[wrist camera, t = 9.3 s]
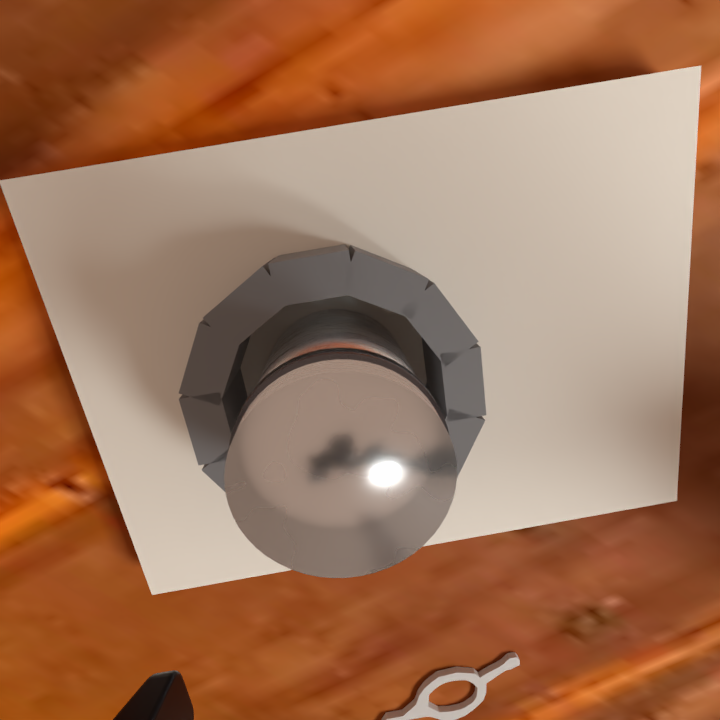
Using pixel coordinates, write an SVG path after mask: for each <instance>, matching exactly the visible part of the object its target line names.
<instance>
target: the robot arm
mask: <svg viewBox="0 0 720 720" xmlns="http://www.w3.org/2000/svg"><path fill="white" fill-rule="evenodd" d="M113 720H194V712H193V706H192V703H191V700H190V697H189V694H188V692H187V689H186V686H185V683H184V680H183V678H182V675H181V674H180V673H179V672H178V671H175V670H174V671H168V672H162V673H156V674H154V675H152V676H150V677H149V678H148V679H147V680H146V681H145V682H144V684H143V685H142V686H141V687H140V688H139V690H138V691H137V692H136V693H135V694H134V695H133V697H132V698H131V699H130V700H129V701H128V702H127V704H126V705H125V706H124V707H123V708H122V709H121V711H120V712H119V713H118V714H117V715H116V717H115V718H114V719H113Z"/></svg>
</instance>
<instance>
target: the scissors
mask: <svg viewBox="0 0 720 720" xmlns="http://www.w3.org/2000/svg"><path fill="white" fill-rule="evenodd" d="M519 665H520V660H519V658H518V655H517V654H516V653H515V652H511V653H507V654H506V655H505V656H504V657H503V658H501V659H500V660H499V661H497V662H495V663H493V664H491V665H489V666H487V667H485V668H484V669H482V670H481V671H479V672H477V671H476V670H475V669H474V668H467V667H452V668H448V669H443V670H439V671H436V672H435V673H434V674H432V675H431V676H430V677H429V678H427V679H426V680H425V681H424V682H423V683H422V684H421V686H420V687H419V689H418V691H417V694H416V696H415V699H414V700H412V701H411V702H410V703H409V704H408V705H407V706H406V707H404V708H403V709H402V710H397V711H392V712H386V713H385V714H384V716H383V718H382V719H381V720H410V719H415V718H421V717H427V716H428V717H433V718H437V719H440V720H455V719H458V718H461V717H463V716H465V715H467V714H468V713H469V712H471V711H472V710H474V709H475V708H476V707H477V706H478V705H479V704H480V703H481V702H482V701H483V699H484V697H485V695H486V683H488V682H489V681H491V680H492V679H493V678H495V677H496V676H498V675H499V674H501V673H502V672H504V671H506V670H510V669H512V668H514V667H516V666H519ZM456 680H468V681H469V682H471V683H473V684H474V685H475V691H474V693H473V695H472V696H471V697H469V698H468V699H467V700H465V701H463V702H461V703H459V704H454V705H450V706H437V705H435V704H433V703H431V702H429V694H430V693H431V692H432V691H433V690H434V689H435V688H437V687H438V686H440V685H441V684H444V683H446V682H450V681H456Z"/></svg>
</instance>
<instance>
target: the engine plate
mask: <svg viewBox="0 0 720 720" xmlns="http://www.w3.org/2000/svg"><path fill="white" fill-rule="evenodd" d="M700 78H701V66H695V67H689V68H683V69H677V70H671V71H665V72H659V73H653V74H647V75H641V76H634V77H628V78H622V79H616V80H610V81H604V82H598V83H592V84H586V85H580V86H573V87H567V88H561V89H555V90H549V91H543V92H537V93H531V94H525V95H519V96H512V97H506V98H500V99H494V100H488V101H482V102H476V103H470V104H464V105H458V106H451V107H445V108H439V109H433V110H427V111H421V112H415V113H409V114H403V115H397V116H390V117H384V118H378V119H372V120H366V121H360V122H354V123H348V124H342V125H336V126H329V127H323V128H317V129H311V130H305V131H299V132H293V133H287V134H281V135H275V136H268V137H262V138H256V139H250V140H244V141H238V142H232V143H226V144H220V145H214V146H207V147H201V148H195V149H189V150H183V151H177V152H171V153H165V154H159V155H153V156H147V157H140V158H134V159H128V160H122V161H116V162H110V163H104V164H98V165H92V166H86V167H79V168H73V169H67V170H61V171H55V172H49V173H43V174H37V175H31V176H25V177H18V178H12V179H6V180H0V185H1V188H2V191H3V193H4V196H5V199H6V201H7V204H8V207H9V209H10V212H11V215H12V218H13V220H14V223H15V226H16V228H17V231H18V234H19V237H20V239H21V242H22V245H23V247H24V250H25V253H26V255H27V258H28V261H29V264H30V266H31V269H32V272H33V274H34V277H35V280H36V282H37V285H38V288H39V291H40V293H41V296H42V299H43V301H44V304H45V307H46V310H47V312H48V315H49V318H50V320H51V323H52V326H53V328H54V331H55V334H56V337H57V339H58V342H59V345H60V347H61V350H62V353H63V355H64V358H65V361H66V364H67V366H68V369H69V372H70V374H71V377H72V380H73V383H74V385H75V388H76V391H77V393H78V396H79V399H80V401H81V404H82V407H83V410H84V412H85V415H86V418H87V420H88V423H89V426H90V428H91V431H92V434H93V437H94V439H95V442H96V445H97V447H98V450H99V453H100V456H101V458H102V461H103V464H104V466H105V469H106V472H107V474H108V477H109V480H110V483H111V485H112V488H113V491H114V493H115V496H116V499H117V501H118V504H119V507H120V510H121V512H122V515H123V518H124V520H125V523H126V526H127V528H128V531H129V534H130V537H131V539H132V542H133V545H134V547H135V550H136V553H137V556H138V558H139V561H140V564H141V566H142V569H143V572H144V574H145V577H146V580H147V583H148V585H149V588H150V591H151V593H152V595H154V594H160V593H166V592H171V591H177V590H182V589H188V588H193V587H199V586H205V585H210V584H216V583H221V582H227V581H232V580H238V579H244V578H249V577H255V576H260V575H266V574H272V573H277V572H283V571H288V570H291V569H289V568H287V567H285V566H283V565H280V564H278V563H277V562H275V561H273V560H272V559H270V558H269V557H267V556H266V555H264V554H263V553H262V552H261V551H259V550H258V549H257V548H256V547H255V546H254V545H253V544H252V543H251V542H250V541H249V540H248V539H247V538H246V537H245V535H244V534H243V532H242V531H241V530H240V528H239V527H238V525H237V523H236V521H235V520H234V518H233V516H232V513H231V511H230V508H229V505H228V502H227V497H226V492H225V482H224V473H225V462H226V458H227V454H228V450H229V442H230V438H231V434H232V430H233V427H234V424H235V422H236V420H237V417H238V415H239V413H240V411H241V408H242V406H243V404H244V403H245V401H246V399H247V398H248V396H249V394H250V393H251V392H252V390H253V389H254V388H255V387H256V385H257V383H258V381H259V379H260V376H261V374H262V372H263V370H264V367H265V365H266V363H267V361H268V358H269V356H270V354H271V351H272V349H273V347H274V345H275V343H276V342H277V340H278V338H279V337H280V336H281V335H282V333H283V332H284V331H285V330H286V329H287V328H288V327H289V326H290V325H292V324H293V323H294V322H296V321H297V320H299V319H300V318H302V317H304V316H306V315H308V314H311V313H314V312H317V311H321V310H326V309H347V310H353V311H357V312H360V313H363V314H365V315H368V316H370V317H372V318H373V319H375V320H377V321H378V322H379V323H381V324H382V325H383V326H384V327H386V329H387V330H388V331H389V332H390V333H391V334H392V335H393V337H394V338H395V339H396V341H397V343H398V344H399V346H400V348H401V350H402V351H403V353H404V355H405V357H406V359H407V360H408V362H409V364H410V366H411V367H412V369H413V371H414V373H415V375H416V376H417V378H418V379H419V380H420V381H421V382H422V383H423V384H424V385H425V386H426V388H427V389H428V390H429V392H430V393H431V395H432V396H433V398H434V399H435V401H436V403H437V405H438V406H439V408H440V410H441V412H442V414H443V416H444V419H445V421H446V424H447V427H448V431H449V436H450V438H451V441H452V444H453V447H454V451H455V456H456V461H457V481H456V489H455V493H454V497H453V501H452V504H451V506H450V509H449V511H448V514H447V515H446V517H445V519H444V521H443V522H442V524H441V526H440V527H439V528H438V530H437V531H436V532H435V534H434V535H433V536H432V537H431V538H430V539H429V540H428V541H427V542H426V543H425V544H424V545H423V546H428V545H433V544H439V543H444V542H450V541H455V540H461V539H467V538H472V537H478V536H483V535H489V534H494V533H500V532H506V531H511V530H517V529H522V528H528V527H533V526H539V525H545V524H550V523H556V522H561V521H567V520H572V519H578V518H584V517H589V516H595V515H600V514H606V513H611V512H617V511H623V510H628V509H634V508H639V507H645V506H650V505H656V504H662V503H667V502H673V501H677V489H678V471H679V453H680V435H681V418H682V400H683V382H684V364H685V346H686V328H687V310H688V293H689V275H690V257H691V239H692V221H693V203H694V185H695V168H696V150H697V132H698V114H699V96H700Z"/></svg>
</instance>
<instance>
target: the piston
mask: <svg viewBox="0 0 720 720" xmlns="http://www.w3.org/2000/svg"><path fill="white" fill-rule="evenodd" d="M456 481H457V461H456V456H455V451H454V447H453V444H452V441H451V438H450V436H449V431H448V427H447V424H446V421H445V419H444V416H443V414H442V412H441V410H440V408H439V406H438V405H437V403H436V401H435V399H434V398H433V396H432V395H431V393H430V392H429V390H428V389H427V388H426V386H425V385H424V384H423V383H422V382H421V381H420V380H419V379H418V378H417V376H416V375H415V373H414V371H413V369H412V367H411V366H410V364H409V362H408V360H407V359H406V357H405V355H404V353H403V351H402V350H401V348H400V346H399V344H398V343H397V341H396V339H395V338H394V337H393V335H392V334H391V333H390V332H389V331H388V330H387V329H386V327H384V326H383V325H382V324H381V323H379V322H378V321H377V320H375V319H373V318H372V317H370V316H368V315H365V314H363V313H360V312H357V311H353V310H347V309H326V310H321V311H317V312H314V313H311V314H308V315H306V316H304V317H302V318H300V319H299V320H297V321H296V322H294V323H293V324H292V325H290V326H289V327H288V328H287V329H286V330H285V331H284V332H283V333H282V335H281V336H280V337H279V338H278V340H277V342H276V343H275V345H274V347H273V349H272V351H271V354H270V356H269V358H268V361H267V363H266V365H265V367H264V370H263V372H262V374H261V376H260V379H259V381H258V383H257V385H256V387H255V388H254V389H253V390H252V392H251V393H250V394H249V396H248V398H247V399H246V401H245V403H244V404H243V406H242V408H241V411H240V413H239V415H238V417H237V420H236V422H235V424H234V427H233V430H232V434H231V438H230V442H229V450H228V454H227V458H226V462H225V473H224V482H225V492H226V497H227V502H228V505H229V508H230V511H231V513H232V516H233V518H234V520H235V521H236V523H237V525H238V527H239V528H240V530H241V531H242V532H243V534H244V535H245V537H246V538H247V539H248V540H249V541H250V542H251V543H252V544H253V545H254V546H255V547H256V548H257V549H258V550H259V551H261V552H262V553H263V554H264V555H266V556H267V557H269V558H270V559H272V560H273V561H275V562H277V563H278V564H280V565H283V566H285V567H287V568H289V569H291V570H295V571H298V572H301V573H304V574H308V575H313V576H318V577H328V578H348V577H356V576H363V575H367V574H371V573H375V572H378V571H381V570H384V569H386V568H389V567H391V566H393V565H395V564H397V563H399V562H401V561H403V560H404V559H406V558H408V557H409V556H411V555H412V554H414V553H415V552H416V551H417V550H418V549H420V548H421V547H422V546H423V545H424V544H425V543H426V542H427V541H428V540H429V539H430V538H431V537H432V536H433V535H434V534H435V532H436V531H437V530H438V528H439V527H440V526H441V524H442V522H443V521H444V519H445V517H446V515H447V514H448V511H449V509H450V506H451V504H452V501H453V497H454V493H455V489H456Z"/></svg>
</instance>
